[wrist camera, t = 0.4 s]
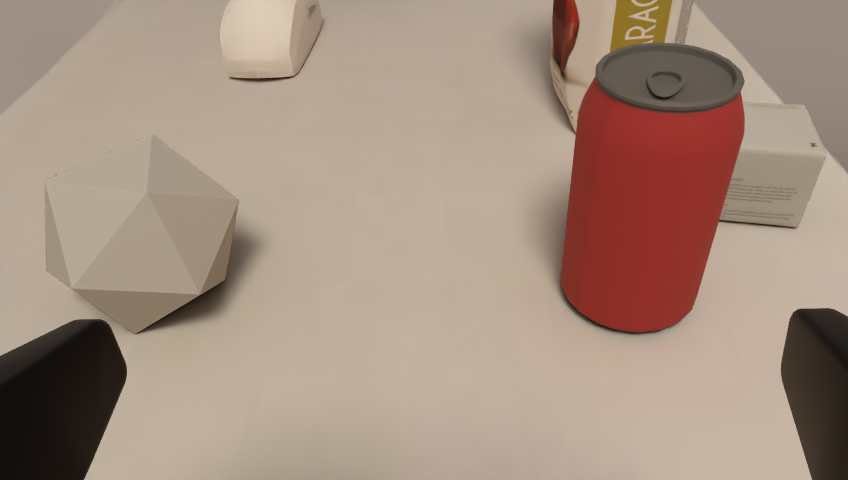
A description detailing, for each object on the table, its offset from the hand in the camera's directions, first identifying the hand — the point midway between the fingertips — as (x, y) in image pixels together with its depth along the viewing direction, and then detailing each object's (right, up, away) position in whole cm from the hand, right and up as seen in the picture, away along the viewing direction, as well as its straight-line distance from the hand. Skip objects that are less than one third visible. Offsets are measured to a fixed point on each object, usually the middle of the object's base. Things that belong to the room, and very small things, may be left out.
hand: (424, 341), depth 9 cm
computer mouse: (-13, +18, +51) cm, 55 cm away
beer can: (+10, -1, +25) cm, 27 cm away
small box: (+19, +4, +30) cm, 36 cm away
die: (-14, -2, +27) cm, 30 cm away
